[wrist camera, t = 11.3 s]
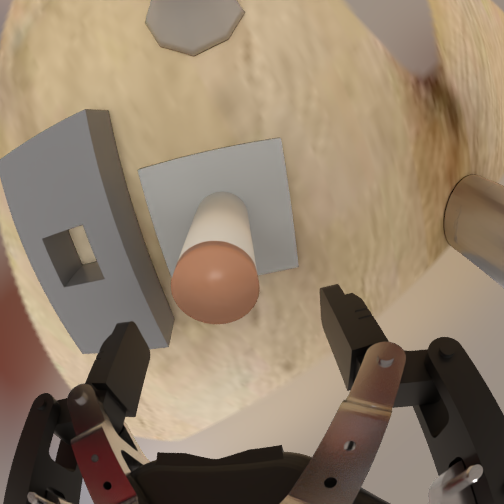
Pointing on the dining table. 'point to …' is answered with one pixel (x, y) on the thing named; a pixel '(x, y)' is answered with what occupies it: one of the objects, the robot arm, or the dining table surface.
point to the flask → (192, 23)
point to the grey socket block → (95, 225)
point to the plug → (217, 263)
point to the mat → (233, 181)
